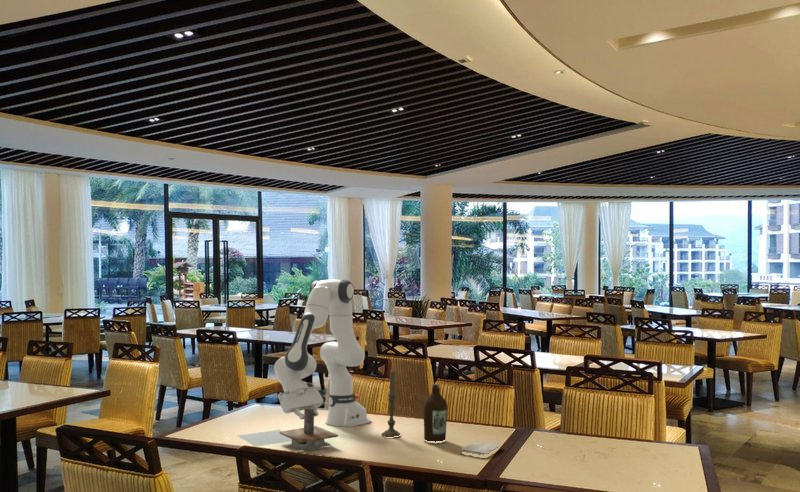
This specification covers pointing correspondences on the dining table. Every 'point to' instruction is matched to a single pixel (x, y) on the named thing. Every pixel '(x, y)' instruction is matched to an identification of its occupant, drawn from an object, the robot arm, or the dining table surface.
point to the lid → (308, 430)
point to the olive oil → (435, 416)
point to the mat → (265, 438)
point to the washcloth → (480, 448)
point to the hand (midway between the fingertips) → (309, 417)
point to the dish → (308, 445)
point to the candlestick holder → (391, 408)
